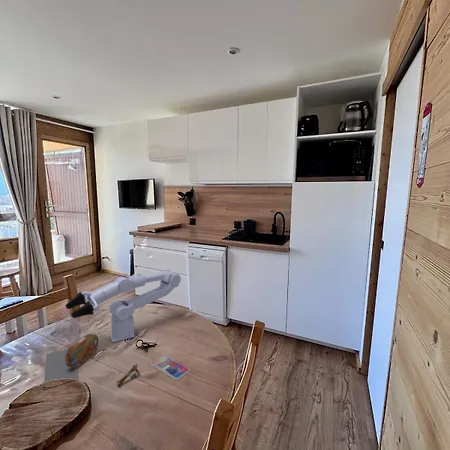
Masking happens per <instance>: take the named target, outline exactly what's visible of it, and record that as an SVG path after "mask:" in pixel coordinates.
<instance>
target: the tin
mask: <svg viewBox="0 0 450 450" xmlns="http://www.w3.org/2000/svg"><path fill="white" fill-rule="evenodd" d="M98 346H99V337H98V335H97V334H94V333H90V334H86V335H84V336H83V337H81V338H80V339H79V340H78V341H76V342H73V344H72V345H71V346H69V348H67V349H68V351H67V353H66V359H65V361H66V365H67V366H68V367H73V368H77V369H78V367H80V366H81V365H83V364H84V363H85V362H86V361H87V360H88V359H90V357H92V356H93V355H94V354H95V353H96V351H97V349H98Z"/></svg>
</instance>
